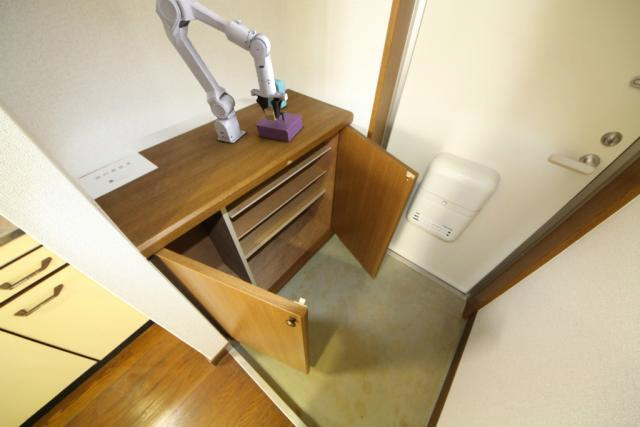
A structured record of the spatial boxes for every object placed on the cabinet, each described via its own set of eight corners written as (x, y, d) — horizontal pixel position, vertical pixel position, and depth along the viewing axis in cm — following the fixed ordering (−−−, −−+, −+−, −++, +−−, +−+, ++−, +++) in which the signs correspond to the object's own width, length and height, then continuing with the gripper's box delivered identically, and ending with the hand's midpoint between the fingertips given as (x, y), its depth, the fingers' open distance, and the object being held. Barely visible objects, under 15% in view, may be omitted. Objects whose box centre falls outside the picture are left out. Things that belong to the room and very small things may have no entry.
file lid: (286, 132, 87) (285, 122, 84) (255, 126, 90) (253, 116, 87) (301, 116, 95) (300, 107, 92) (272, 111, 99) (270, 102, 96)
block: (274, 121, 86) (273, 110, 83) (266, 119, 87) (263, 109, 84) (279, 116, 89) (278, 106, 86) (271, 115, 90) (269, 105, 87)
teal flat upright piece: (287, 106, 114) (283, 80, 105) (281, 109, 111) (277, 83, 102) (269, 101, 118) (264, 76, 109) (263, 105, 116) (258, 79, 107)
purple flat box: (288, 142, 91) (287, 131, 87) (258, 136, 94) (256, 125, 91) (302, 127, 99) (301, 116, 95) (274, 122, 103) (272, 112, 99)
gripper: (289, 77, 78) (293, 115, 88) (254, 73, 82) (262, 110, 92) (279, 83, 74) (285, 123, 84) (243, 79, 78) (253, 117, 88)
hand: (272, 116), depth 88 cm, fingers closed on block, 4 cm apart
